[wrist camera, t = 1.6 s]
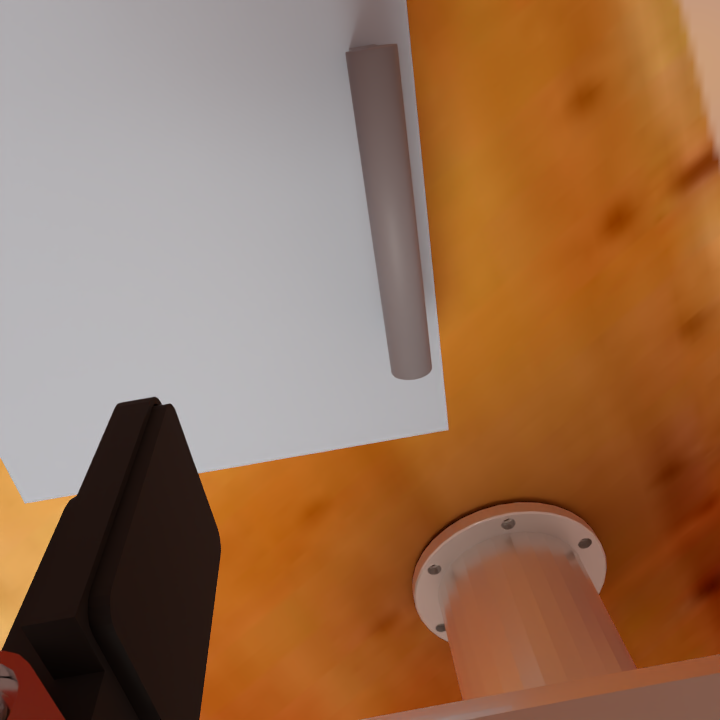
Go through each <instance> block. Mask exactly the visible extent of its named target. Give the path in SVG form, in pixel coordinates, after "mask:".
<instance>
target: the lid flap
mask: <svg viewBox="0 0 720 720" xmlns="http://www.w3.org/2000/svg"><path fill="white" fill-rule="evenodd" d="M150 397H157V398H158V399H159V400H160V402H161V403H162V405H164V404H172V405H173V407H174V408H175V410H176V413H177V416H178V418H179V421H180V424H181V427H182V430H183V432H184V435H185V438H186V441H187V444H188V447H189V449H190V452H191V455H192V458H193V461H194V464H195V466H196V469H197V472H198V473H203V472H209V471H215V470H221V469H226V468H232V467H238V466H244V465H249V464H255V463H261V462H267V461H272V460H278V459H284V458H290V457H295V456H301V455H307V454H313V453H318V452H324V451H330V450H336V449H341V448H347V447H353V446H359V445H364V444H370V443H376V442H382V441H387V440H393V439H399V438H405V437H410V436H416V435H422V434H428V433H433V432H439V431H445V430H449V429H448V419H447V409H446V399H445V388H444V378H443V368H442V358H441V348H440V338H439V328H438V317H437V307H436V297H435V287H434V277H433V267H432V256H431V246H430V236H429V226H428V216H427V206H426V196H425V185H424V175H423V165H422V155H421V145H420V135H419V124H418V114H417V104H416V94H415V84H414V74H413V64H412V53H411V43H410V33H409V23H408V13H407V3H406V0H0V458H1V459H2V461H3V463H4V465H5V467H6V469H7V471H8V473H9V474H10V476H11V478H12V480H13V482H14V484H15V486H16V488H17V489H18V491H19V493H20V495H21V497H22V499H23V501H24V502H25V503H31V502H36V501H42V500H48V499H54V498H59V497H65V496H71V495H77V494H78V492H79V489H80V487H81V485H82V482H83V480H84V478H85V476H86V473H87V471H88V469H89V466H90V464H91V462H92V459H93V457H94V455H95V452H96V450H97V448H98V445H99V443H100V441H101V438H102V436H103V434H104V431H105V429H106V427H107V425H108V422H109V420H110V418H111V415H112V413H113V411H114V408H115V406H116V405H117V404H118V403H121V402H127V401H133V400H138V399H144V398H150Z"/></svg>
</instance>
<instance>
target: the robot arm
mask: <svg viewBox="0 0 720 720" xmlns="http://www.w3.org/2000/svg"><path fill="white" fill-rule="evenodd" d="M220 554H221V544H220V536H219V532H218V528H217V526H216V523H215V520H214V517H213V514H212V511H211V509H210V506H209V503H208V500H207V497H206V495H205V492H204V489H203V486H202V483H201V480H200V478H199V475H198V472H197V469H196V466H195V464H194V461H193V458H192V455H191V452H190V449H189V447H188V444H187V441H186V438H185V435H184V432H183V430H182V427H181V424H180V421H179V418H178V416H177V413H176V410H175V408H174V407H173V405H172V404H164V405H162V403H161V402H160V400H159V399H158V398H157V397H150V398H144V399H138V400H133V401H127V402H121V403H118V404H117V405H116V406H115V408H114V411H113V413H112V415H111V418H110V420H109V422H108V425H107V427H106V429H105V431H104V434H103V436H102V438H101V441H100V443H99V445H98V448H97V450H96V452H95V455H94V457H93V459H92V462H91V464H90V466H89V469H88V471H87V473H86V476H85V478H84V480H83V482H82V485H81V487H80V489H79V492H78V494H77V496H76V497H74V498H73V499H71V500H70V501H69V502H68V504H67V505H66V507H65V509H64V511H63V513H62V516H61V518H60V520H59V522H58V525H57V527H56V529H55V531H54V534H53V536H52V538H51V540H50V543H49V545H48V547H47V549H46V552H45V554H44V556H43V558H42V561H41V563H40V565H39V567H38V570H37V572H36V574H35V576H34V579H33V581H32V583H31V585H30V588H29V590H28V592H27V594H26V597H25V599H24V601H23V603H22V606H21V608H20V610H19V612H18V615H17V617H16V619H15V621H14V624H13V626H12V628H11V630H10V633H9V635H8V637H7V639H6V642H5V644H4V646H3V648H2V651H0V720H199V718H200V710H201V702H202V694H203V687H204V679H205V671H206V663H207V656H208V648H209V640H210V632H211V625H212V617H213V609H214V601H215V594H216V586H217V578H218V570H219V563H220ZM606 570H607V565H606V555H605V553H604V550H603V547H602V545H601V543H600V541H599V539H598V538H597V536H596V534H595V533H594V531H593V529H592V528H591V527H590V526H589V525H588V524H587V523H586V522H585V521H584V520H583V519H582V518H580V517H578V516H577V515H575V514H574V513H572V512H570V511H568V510H565V509H562V508H560V507H557V506H554V505H548V504H542V503H533V502H517V503H510V504H502V505H497V506H494V507H490V508H487V509H483V510H480V511H477V512H475V513H473V514H471V515H468V516H466V517H464V518H462V519H460V520H459V521H457V522H455V523H454V524H452V525H451V526H449V527H447V528H446V529H445V530H444V531H443V532H441V533H440V534H439V535H438V536H437V537H436V538H435V539H433V540H432V542H431V543H430V544H429V545H428V547H427V548H426V549H425V550H424V552H423V553H422V555H421V557H420V559H419V561H418V563H417V565H416V567H415V571H414V575H413V579H412V586H413V597H414V601H415V606H416V610H417V612H418V614H419V616H420V618H421V620H422V622H423V623H424V624H425V625H426V626H427V628H428V629H429V630H430V631H432V632H433V633H434V634H436V635H437V636H438V637H440V638H441V639H443V640H446V641H448V642H449V645H450V649H451V654H452V658H453V662H454V666H455V670H456V674H457V679H458V683H459V687H460V691H461V695H462V699H463V701H459V702H453V703H448V704H442V705H437V706H431V707H426V708H421V709H415V710H410V711H404V712H399V713H393V714H388V715H382V716H377V717H372V718H366V719H361V720H720V654H718V655H713V656H707V657H702V658H696V659H690V660H685V661H679V662H674V663H668V664H662V665H657V666H651V667H646V668H640V669H637V668H636V666H635V664H634V662H633V660H632V658H631V656H630V654H629V652H628V650H627V648H626V647H625V645H624V643H623V641H622V639H621V637H620V635H619V633H618V631H617V629H616V627H615V625H614V623H613V621H612V619H611V618H610V616H609V614H608V612H607V610H606V608H605V606H604V604H603V602H602V600H601V598H600V596H599V593H600V591H601V588H602V586H603V584H604V581H605V576H606Z"/></svg>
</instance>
